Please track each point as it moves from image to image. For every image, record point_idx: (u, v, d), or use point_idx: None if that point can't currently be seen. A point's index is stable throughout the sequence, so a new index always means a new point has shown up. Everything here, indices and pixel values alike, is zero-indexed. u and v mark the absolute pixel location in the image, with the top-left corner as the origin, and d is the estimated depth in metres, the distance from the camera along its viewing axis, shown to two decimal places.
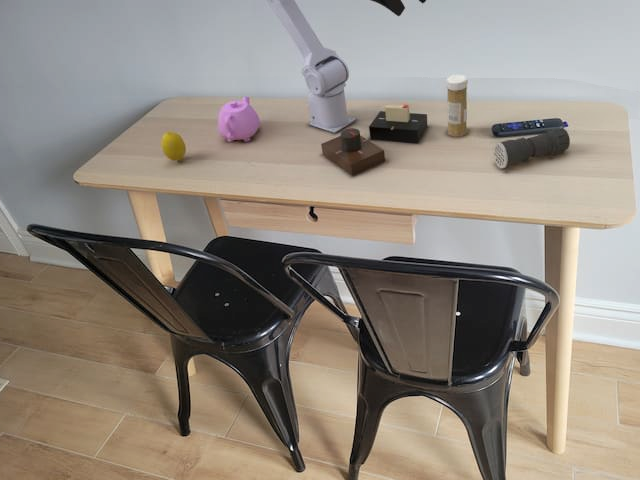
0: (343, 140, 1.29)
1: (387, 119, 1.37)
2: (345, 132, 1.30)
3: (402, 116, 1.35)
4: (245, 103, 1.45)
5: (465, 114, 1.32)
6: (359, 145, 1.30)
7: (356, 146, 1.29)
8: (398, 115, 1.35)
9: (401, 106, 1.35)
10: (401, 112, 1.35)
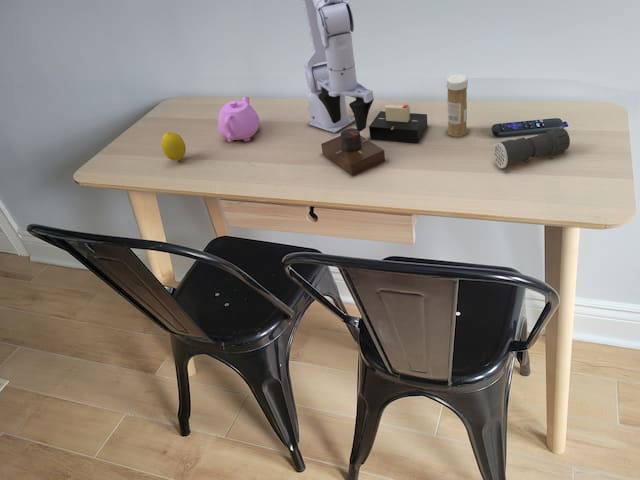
0: (343, 140, 1.29)
1: (387, 119, 1.37)
2: (345, 132, 1.30)
3: (402, 116, 1.35)
4: (245, 103, 1.45)
5: (465, 114, 1.32)
6: (359, 145, 1.30)
7: (356, 146, 1.29)
8: (398, 115, 1.35)
9: (401, 106, 1.35)
10: (401, 112, 1.35)
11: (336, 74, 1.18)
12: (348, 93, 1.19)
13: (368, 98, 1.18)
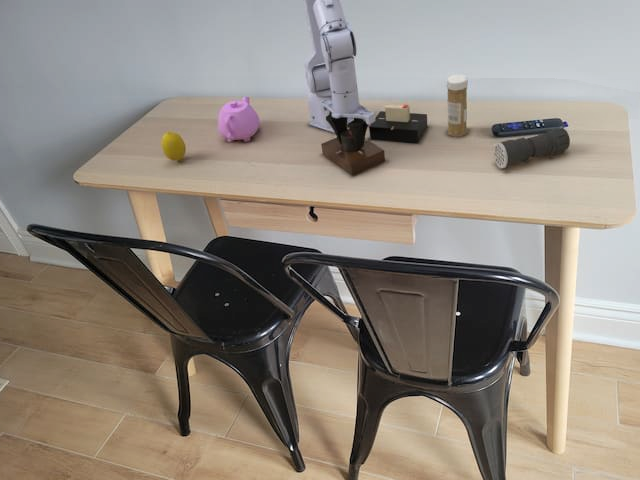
0: (343, 140, 1.29)
1: (387, 119, 1.37)
2: (345, 132, 1.30)
3: (402, 116, 1.35)
4: (245, 103, 1.45)
5: (465, 114, 1.32)
6: None
7: None
8: (398, 115, 1.35)
9: (401, 106, 1.35)
10: (401, 112, 1.35)
11: (339, 97, 1.21)
12: (351, 115, 1.22)
13: (370, 120, 1.22)
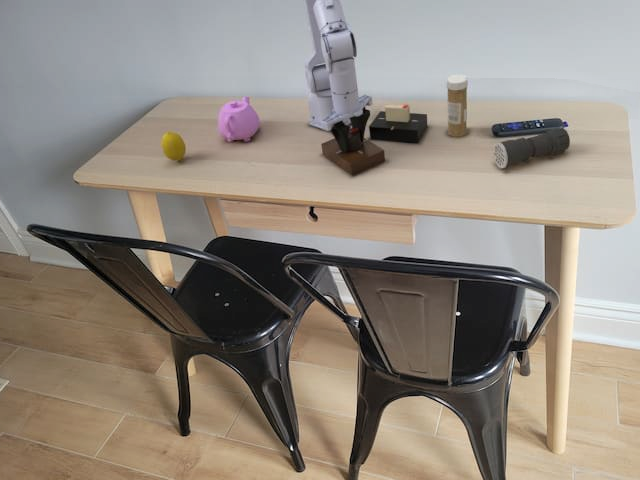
0: (357, 139, 1.28)
1: (387, 119, 1.37)
2: None
3: (402, 116, 1.35)
4: (245, 103, 1.45)
5: (465, 114, 1.32)
6: None
7: None
8: (398, 115, 1.35)
9: (401, 106, 1.35)
10: (401, 112, 1.35)
11: (356, 92, 1.22)
12: (363, 105, 1.26)
13: None
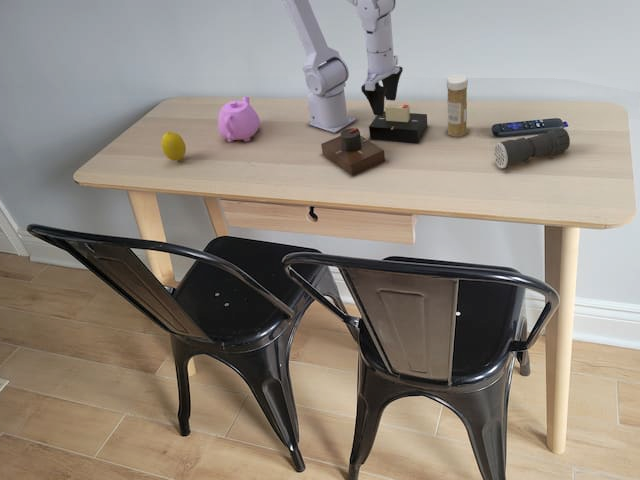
0: (357, 139, 1.28)
1: (387, 119, 1.37)
2: (348, 135, 1.28)
3: (402, 116, 1.35)
4: (245, 103, 1.45)
5: (465, 114, 1.32)
6: None
7: None
8: (398, 115, 1.35)
9: (401, 106, 1.35)
10: (401, 112, 1.35)
11: None
12: (395, 63, 1.28)
13: None
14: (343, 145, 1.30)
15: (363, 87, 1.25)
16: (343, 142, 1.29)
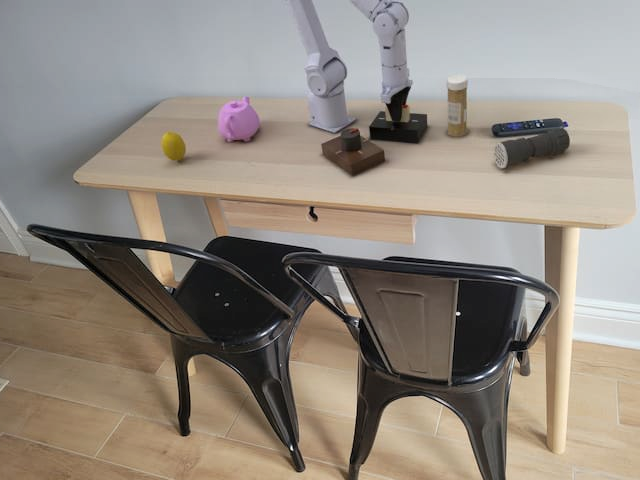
0: (357, 139, 1.28)
1: (387, 119, 1.37)
2: (348, 135, 1.28)
3: (402, 116, 1.35)
4: (245, 103, 1.45)
5: (465, 114, 1.32)
6: None
7: None
8: None
9: None
10: None
11: (406, 63, 1.28)
12: None
13: None
14: (343, 145, 1.30)
15: None
16: (343, 142, 1.29)
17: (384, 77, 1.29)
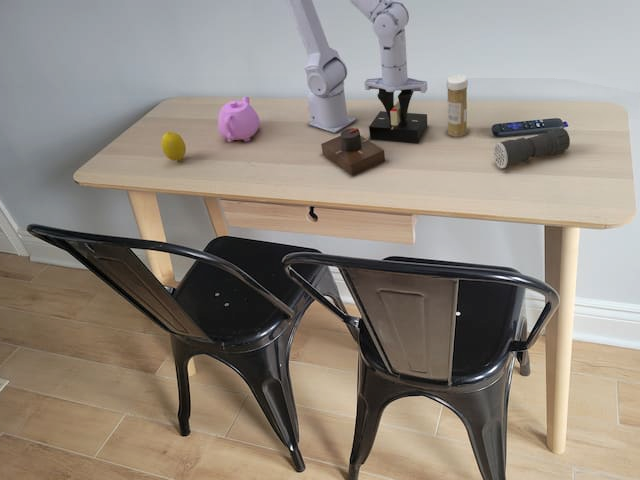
0: (357, 139, 1.28)
1: None
2: (348, 135, 1.28)
3: None
4: (245, 103, 1.45)
5: (465, 114, 1.32)
6: None
7: None
8: None
9: (396, 108, 1.34)
10: None
11: (394, 70, 1.26)
12: (405, 86, 1.29)
13: (425, 88, 1.29)
14: (343, 145, 1.30)
15: None
16: (343, 142, 1.29)
17: None
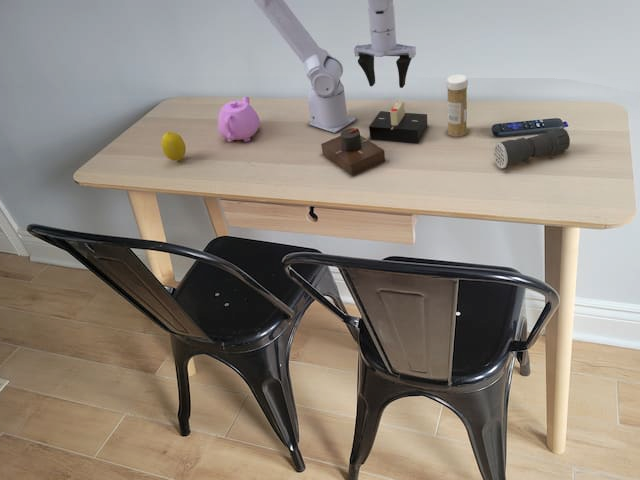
0: (357, 139, 1.28)
1: None
2: (348, 135, 1.28)
3: None
4: (245, 103, 1.45)
5: (465, 114, 1.32)
6: None
7: None
8: None
9: (396, 108, 1.34)
10: None
11: (383, 35, 1.28)
12: (394, 51, 1.30)
13: (413, 53, 1.31)
14: (343, 145, 1.30)
15: None
16: (343, 142, 1.29)
17: None
